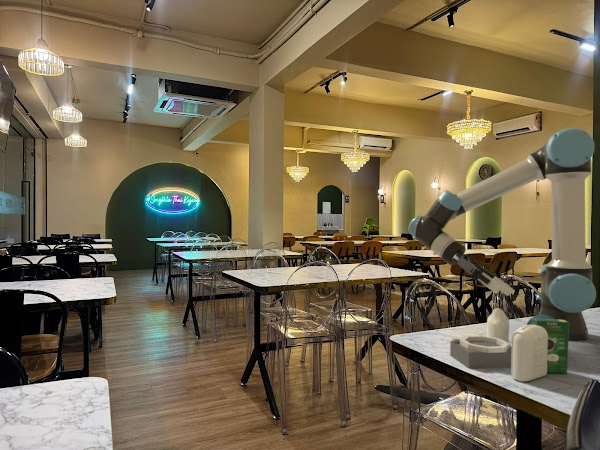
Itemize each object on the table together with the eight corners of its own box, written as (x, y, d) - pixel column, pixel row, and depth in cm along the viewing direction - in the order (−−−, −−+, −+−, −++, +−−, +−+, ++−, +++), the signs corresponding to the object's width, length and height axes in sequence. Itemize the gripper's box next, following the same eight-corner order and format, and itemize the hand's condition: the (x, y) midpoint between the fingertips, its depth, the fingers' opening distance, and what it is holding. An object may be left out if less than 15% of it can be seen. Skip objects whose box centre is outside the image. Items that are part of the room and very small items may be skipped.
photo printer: (532, 369, 106) (533, 320, 105) (549, 375, 102) (550, 324, 102) (507, 377, 100) (508, 326, 100) (525, 384, 97) (526, 330, 96)
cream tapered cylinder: (505, 306, 126) (513, 310, 120) (504, 345, 126) (512, 351, 121) (484, 305, 127) (491, 309, 121) (483, 345, 127) (490, 351, 121)
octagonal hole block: (496, 353, 119) (496, 334, 119) (522, 367, 108) (522, 347, 108) (449, 354, 118) (449, 336, 118) (470, 369, 106) (470, 348, 106)
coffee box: (562, 370, 106) (563, 318, 106) (568, 374, 103) (570, 321, 103) (528, 368, 107) (530, 317, 106) (534, 373, 104) (535, 320, 103)
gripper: (454, 262, 149) (506, 302, 136) (427, 254, 130) (485, 299, 117) (467, 245, 147) (522, 284, 134) (442, 234, 128) (503, 278, 115)
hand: (505, 291), depth 126 cm, fingers open, 13 cm apart
